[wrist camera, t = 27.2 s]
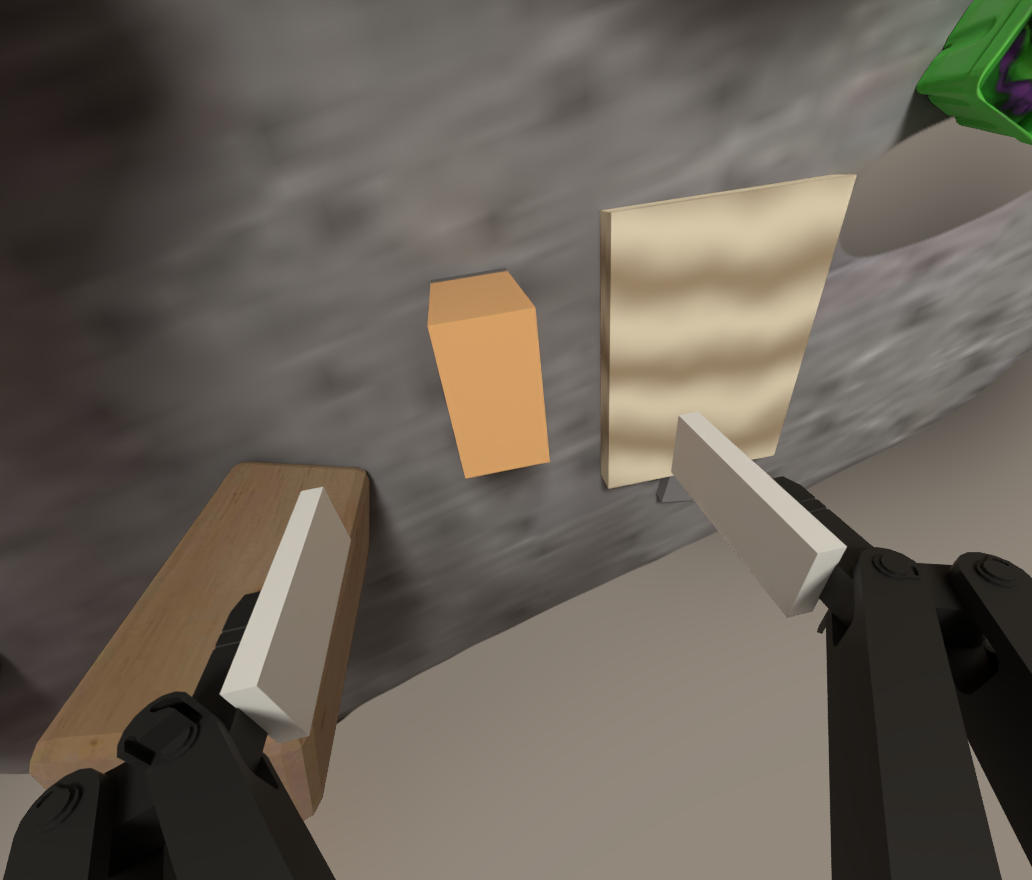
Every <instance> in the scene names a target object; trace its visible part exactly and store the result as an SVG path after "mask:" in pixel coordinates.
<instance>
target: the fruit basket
mask: <svg viewBox="0 0 1032 880" xmlns="http://www.w3.org/2000/svg"><path fill="white" fill-rule="evenodd" d="M916 90H917V91H918V92H919V93H920V94H925V95H928V97H929V99H930V102H931V103H933V104H934V105H935V106H937V107H938V108H939V109H940V110H942V111H943V112H944V113H945V114H947V115H949V116H955V119H956V122H957V123H958V124H959V125H962V126H966V127H971V128H976V129H980V130H984V131H988V132H993V133H997V134H1001V135H1006V136H1011V137H1015V138H1016V139H1017V140H1019V141H1020V142H1023V143H1026V144H1030V145H1032V0H974V2H973V3H972V4H971V5H970V6H969V7H968V9H967V10H966V12H965V13H964V15H963V16H962V18H961V19H960V21H959V22H958V24H957V25H956V27H955V28H954V30H953V31H952V33H951V34H950V36H949V37H948V40H947V42H946V44H945V46H944V50H943V51H942V52H940V53H939V55H938V56H937V57H936V58H935V59H934V60H933V61H932V63H931V64H930V66H929V67H928V69H927V70H926V72H925V73H924V75H923V76H922V78H921V79H920V81H919V82H918V84H917V86H916Z"/></svg>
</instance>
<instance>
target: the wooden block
mask: <svg viewBox="0 0 1032 880" xmlns="http://www.w3.org/2000/svg"><path fill="white" fill-rule="evenodd" d="M319 487H324V489H325V491H326V493H327V495H328V497H329V498H330V500H331V502H332V504H333V506H334V508H335V510H336V512H337V514H338V516H339V518H340V519H341V521H342V523H343V525H344V527H345V529H346V531H347V533H348V535H349V537H350V539H351V542H350V547H349V551H348V556H347V561H346V565H345V570H344V575H343V579H342V584H341V589H340V594H339V598H338V603H337V608H336V612H335V617H334V622H333V626H332V631H331V636H330V640H329V645H328V650H327V654H326V659H325V664H324V668H323V673H322V678H321V683H320V687H319V692H318V697H317V701H316V706H315V711H314V715H313V720H312V725H311V729H310V734H309V736H307V737H303V738H299V739H295V740H291V741H287V742H283V743H279V744H278V743H277V742H276V741H275V740H273V739H272V738H271V737H270V736H269V735H267V739H266V742H265V746H264V749H263V753H265V754H266V755H267V756H268V758H269V760H270V762H271V763H272V765H273V767H274V769H275V771H276V772H277V774H278V776H279V778H280V780H281V781H282V783H283V785H284V787H285V789H286V790H287V792H288V794H289V796H290V798H291V800H292V801H293V803H294V805H295V807H296V809H297V810H298V812H299V814H300V816H301V818H302V819H303V821H304V820H305V819H307V818H309V817H311V816H313V815H314V813H315V811H316V809H317V807H318V805H319V803H320V801H321V800H322V798H323V793H324V788H325V782H326V777H327V772H328V766H329V761H330V755H331V749H332V744H333V739H334V734H335V729H336V723H337V718H338V713H339V707H340V702H341V697H342V691H343V686H344V681H345V675H346V670H347V665H348V659H349V654H350V648H351V643H352V638H353V632H354V627H355V622H356V616H357V611H358V606H359V600H360V595H361V590H362V584H363V579H364V574H365V568H366V563H367V558H368V552H369V478H368V476H367V474H366V471H365V470H363V469H361V468H357V467H339V466H321V465H303V464H285V463H267V462H249V461H248V462H243V463H239V464H237V465H235V466H234V467H233V468H232V470H231V471H230V472H229V474H228V475H227V477H226V478H225V479H224V481H223V482H222V484H221V485H220V486H219V488H218V489H217V491H216V492H215V494H214V495H213V496H212V498H211V499H210V501H209V502H208V503H207V505H206V506H205V508H204V509H203V510H202V512H201V513H200V515H199V516H198V517H197V519H196V520H195V522H194V523H193V524H192V526H191V527H190V529H189V530H188V531H187V533H186V534H185V536H184V537H183V538H182V540H181V541H180V543H179V544H178V546H177V547H176V548H175V550H174V551H173V553H172V554H171V555H170V557H169V558H168V560H167V561H166V562H165V564H164V565H163V567H162V568H161V569H160V571H159V572H158V574H157V575H156V576H155V578H154V579H153V581H152V582H151V583H150V585H149V586H148V588H147V589H146V591H145V592H144V593H143V595H142V596H141V598H140V599H139V600H138V602H137V603H136V605H135V606H134V607H133V609H132V610H131V612H130V613H129V614H128V616H127V617H126V619H125V620H124V621H123V623H122V624H121V626H120V627H119V628H118V630H117V631H116V633H115V634H114V635H113V637H112V638H111V640H110V641H109V643H108V644H107V645H106V647H105V648H104V650H103V651H102V652H101V654H100V655H99V657H98V658H97V659H96V661H95V662H94V664H93V665H92V666H91V668H90V669H89V671H88V672H87V673H86V675H85V676H84V678H83V679H82V680H81V682H80V683H79V685H78V686H77V687H76V689H75V690H74V692H73V693H72V695H71V696H70V697H69V699H68V700H67V702H66V703H65V704H64V706H63V707H62V709H61V710H60V711H59V713H58V714H57V716H56V717H55V718H54V720H53V721H52V723H51V724H50V725H49V727H48V728H47V730H46V731H45V732H44V734H43V735H42V737H41V738H40V739H39V741H38V742H37V744H36V747H35V750H34V753H33V755H32V758H31V761H30V769H29V774H30V775H31V776H32V777H34V779H36V780H37V781H38V782H39V783H40V784H41V785H42V786H43V787H44V788H45V789H46V790H47V789H48V788H49V787H51V786H52V785H53V784H55V783H56V782H57V781H59V780H60V779H61V778H63V777H64V776H66V775H68V774H70V773H72V772H74V771H76V770H79V769H85V768H93V769H95V770H97V771H99V772H101V773H103V774H104V773H106V772H107V771H109V770H111V769H113V768H115V767H117V766H118V765H120V764H122V763H124V762H125V761H123V760H121V759H119V758H117V745H118V742H119V740H120V738H121V736H122V734H123V731H124V730H125V729H126V727H127V726H128V725H129V723H130V722H131V721H132V719H133V718H134V717H135V716H136V715H137V714H138V713H139V712H140V711H141V710H142V709H144V708H145V707H146V706H147V705H148V704H149V703H151V702H153V701H154V700H156V699H157V698H159V697H161V696H162V695H165V694H168V693H171V692H174V691H179V692H186V693H188V694H189V695H190V696H191V697H192V696H193V694H194V691H195V689H196V687H197V685H198V682H199V680H200V678H201V676H202V674H203V671H204V669H205V667H206V665H207V662H208V660H209V658H210V656H211V654H212V651H213V650H215V645H216V643H217V640H218V638H219V636H220V634H222V629H223V627H224V625H225V623H226V620H227V618H228V616H229V614H230V612H231V611H232V609H233V608H234V607H235V606H236V605H237V603H238V602H239V601H240V600H241V599H242V597H243V596H244V595H245V594H250V593H254V592H259V591H261V590H262V587H263V585H264V582H265V580H266V577H267V575H268V572H269V570H270V567H271V565H272V562H273V560H274V557H275V555H276V552H277V550H278V547H279V545H280V542H281V540H282V537H283V535H284V532H285V530H286V527H287V525H288V522H289V520H290V517H291V515H292V512H293V510H294V507H295V505H296V502H297V500H298V497H299V495H300V493H301V491H304V490H309V489H314V488H319Z"/></svg>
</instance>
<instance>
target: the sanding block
mask: <svg viewBox="0 0 1032 880" xmlns="http://www.w3.org/2000/svg"><path fill="white" fill-rule="evenodd" d="M428 329H429V333H430V337H431V342H432V346H433V350H434V354H435V358H436V362H437V366H438V370H439V374H440V378H441V382H442V386H443V390H444V394H445V398H446V402H447V406H448V410H449V414H450V418H451V422H452V426H453V430H454V434H455V438H456V442H457V446H458V450H459V454H460V458H461V462H462V466H463V470H464V474H465V478H471V477H476V476H481V475H486V474H491V473H496V472H501V471H506V470H511V469H516V468H521V467H526V466H531V465H536V464H541V463H546V462H550V459H549V448H548V438H547V427H546V416H545V406H544V395H543V385H542V374H541V363H540V353H539V342H538V332H537V321H536V310H535V307H534V305H533V304H532V303H531V301H530V300H529V299H528V297H527V296H526V295H525V293H524V292H523V291H522V289H521V288H520V287H519V285H518V284H517V283H516V282H515V280H514V279H513V278H512V276H511V275H510V274H509V272H508V271H507V270H506V268H503V269H497V270H491V271H485V272H478V273H472V274H466V275H460V276H454V277H448V278H442V279H436V280H431V285H430V300H429V314H428Z"/></svg>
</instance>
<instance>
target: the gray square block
mask: <svg viewBox="0 0 1032 880" xmlns="http://www.w3.org/2000/svg"><path fill="white" fill-rule="evenodd" d="M656 495H657V496H658V498H659V499H660V501H661V502H673V501H686V500H693V499H692V498H691V496H690V495H689V494H688V493H687V491H686V490H685V489H684V487H683V486H682V485H681V484H680V482H679V481H678V480H677V479H676V477H675V476H669V477H664V478H661V480H660V483H659V486H658V490H657V493H656Z"/></svg>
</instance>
